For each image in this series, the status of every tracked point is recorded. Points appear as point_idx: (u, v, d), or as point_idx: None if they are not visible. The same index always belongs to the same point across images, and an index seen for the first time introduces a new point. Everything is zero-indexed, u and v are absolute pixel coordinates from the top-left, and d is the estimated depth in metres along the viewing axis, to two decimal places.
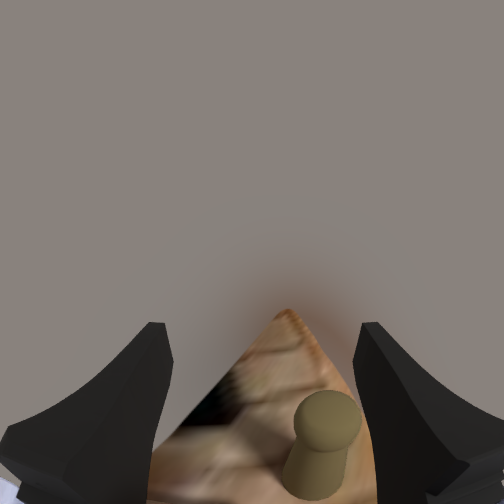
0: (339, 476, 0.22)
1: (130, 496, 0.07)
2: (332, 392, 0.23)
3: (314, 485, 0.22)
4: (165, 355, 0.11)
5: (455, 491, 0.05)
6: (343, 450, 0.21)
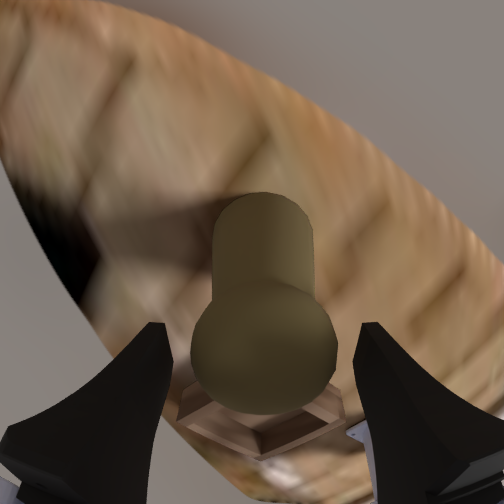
0: None
1: (130, 496, 0.07)
2: (232, 353, 0.09)
3: None
4: (165, 355, 0.11)
5: (455, 491, 0.05)
6: None
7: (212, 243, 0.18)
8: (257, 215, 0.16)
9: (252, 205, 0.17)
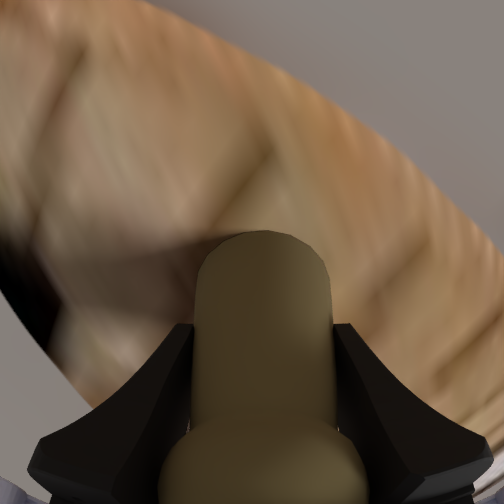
0: None
1: None
2: None
3: None
4: None
5: (417, 503, 0.05)
6: None
7: (195, 299, 0.14)
8: (255, 273, 0.11)
9: (248, 254, 0.12)
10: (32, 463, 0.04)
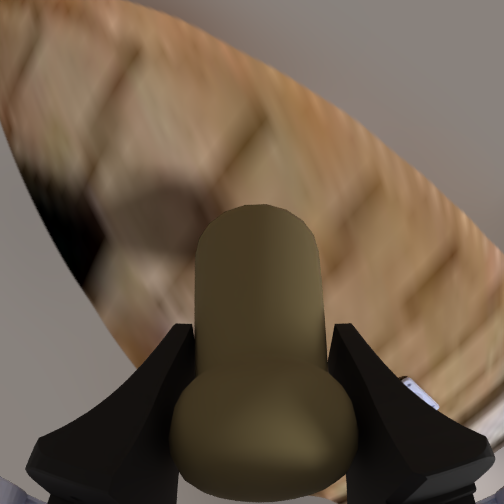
0: None
1: (164, 502, 0.07)
2: (227, 467, 0.06)
3: None
4: (192, 357, 0.11)
5: (419, 503, 0.05)
6: None
7: (195, 264, 0.15)
8: (256, 239, 0.12)
9: (248, 223, 0.13)
10: (30, 462, 0.04)
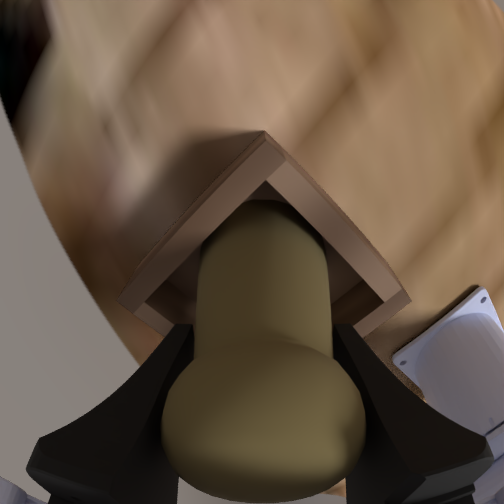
0: None
1: (164, 502, 0.07)
2: (222, 454, 0.05)
3: None
4: (193, 357, 0.11)
5: (418, 503, 0.05)
6: None
7: (200, 258, 0.15)
8: (263, 230, 0.12)
9: (256, 215, 0.13)
10: (31, 463, 0.04)
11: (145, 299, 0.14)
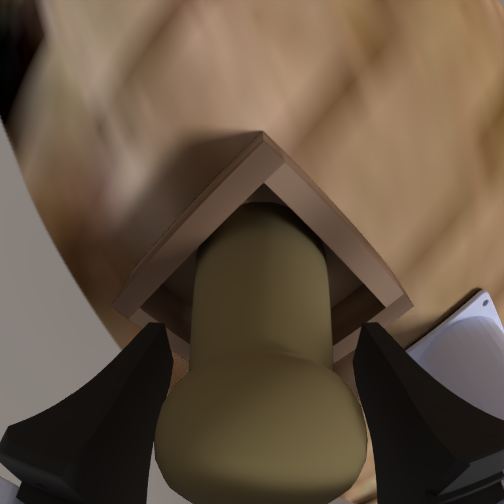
0: None
1: (130, 496, 0.07)
2: (217, 473, 0.05)
3: None
4: (165, 355, 0.11)
5: (455, 491, 0.05)
6: None
7: (196, 262, 0.14)
8: (261, 235, 0.12)
9: (254, 219, 0.13)
10: None
11: (140, 305, 0.13)
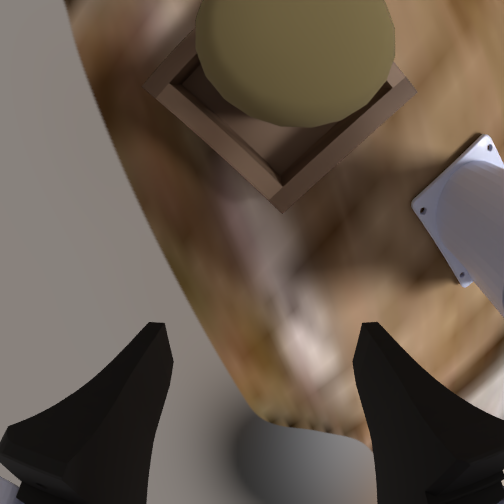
0: None
1: (130, 496, 0.07)
2: None
3: None
4: (165, 355, 0.11)
5: (455, 491, 0.05)
6: None
7: None
8: None
9: None
10: None
11: (170, 80, 0.14)
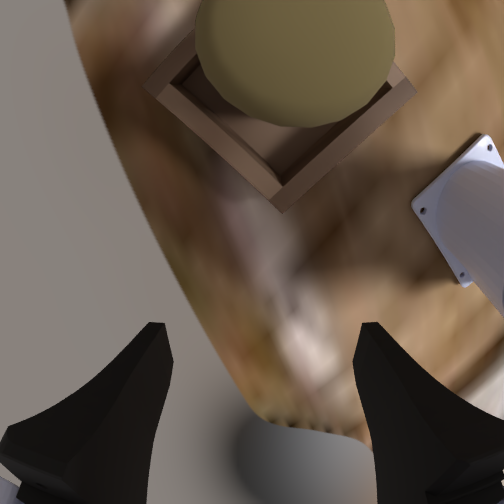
0: None
1: (130, 496, 0.07)
2: None
3: None
4: (165, 355, 0.11)
5: (455, 491, 0.05)
6: None
7: None
8: None
9: None
10: None
11: (170, 80, 0.14)
